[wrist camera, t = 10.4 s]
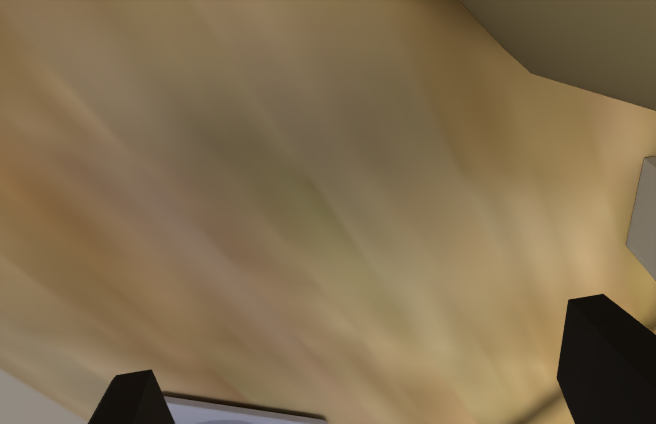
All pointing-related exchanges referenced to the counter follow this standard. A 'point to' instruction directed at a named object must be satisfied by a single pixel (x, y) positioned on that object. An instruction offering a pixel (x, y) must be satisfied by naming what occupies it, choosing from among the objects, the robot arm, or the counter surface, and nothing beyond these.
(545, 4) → the squeeze bottle
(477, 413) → the counter surface
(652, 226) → the grey u-shaped block
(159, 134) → the counter surface
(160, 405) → the robot arm
